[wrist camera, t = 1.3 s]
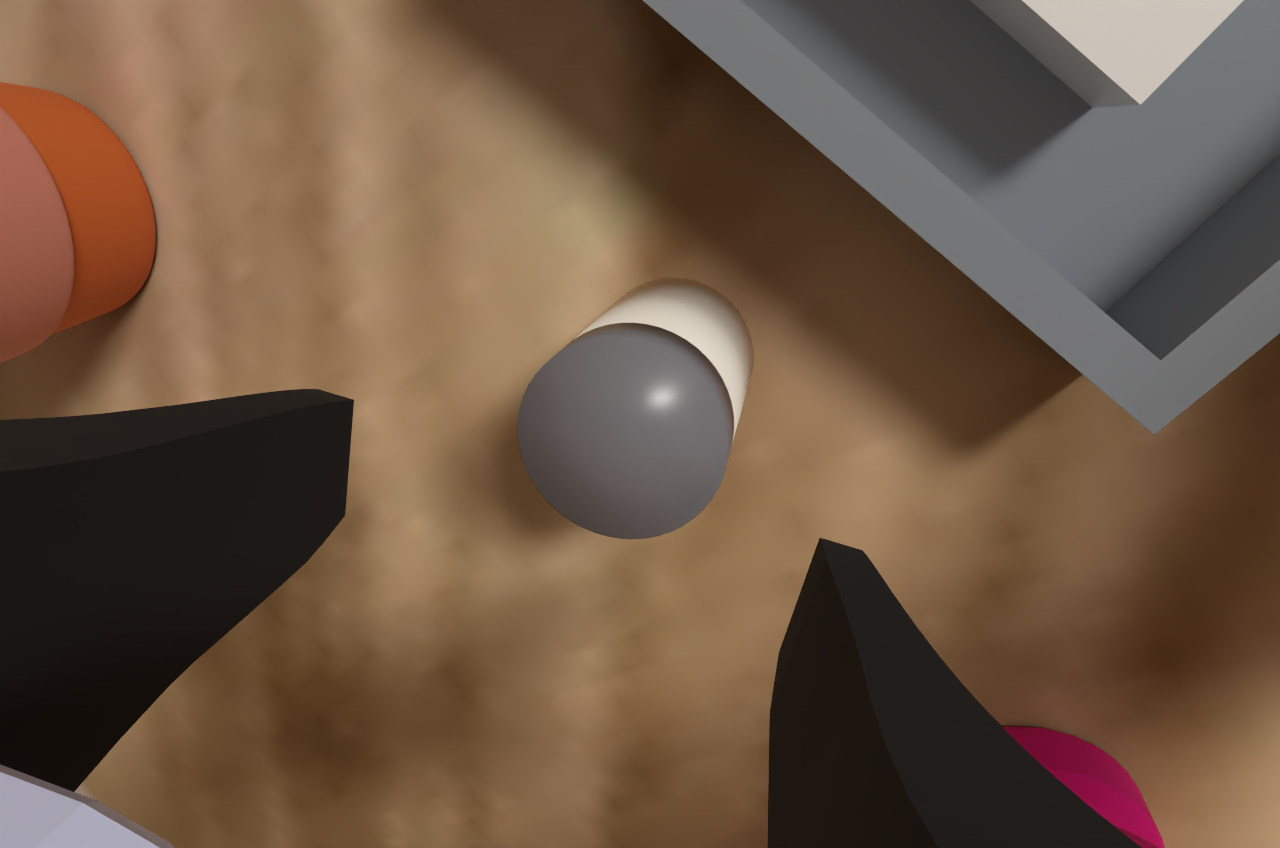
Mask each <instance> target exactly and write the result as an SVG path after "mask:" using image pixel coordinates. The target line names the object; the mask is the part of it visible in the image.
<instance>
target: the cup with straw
mask: <svg viewBox="0 0 1280 848" xmlns="http://www.w3.org/2000/svg"><path fill="white" fill-rule="evenodd" d="M155 247H156V225H155V217H154V211H153V207H152V202H151V199H150V195H149V192H148V189H147V187H146V184H145V181H144V179H143V177H142V175H141V173H140V170H139V168H138V167H137V165H136V163H135V161H134V159H133V158H132V156H131V155H130V153H129V152H128V150H127V149H126V147H125V146H124V144H123V143H122V142H121V141H120V139H119V138H118V137H117V136H116V135H115V133H114V132H113V131H112V130H111V129H110V128H109V127H108V126H107V125H106V124H105V123H104V122H103V121H102V120H101V119H100V118H98V117H97V116H96V115H95V114H94V113H92V112H91V111H89V110H88V109H87V108H85V107H84V106H82V105H80V104H79V103H77V102H75V101H73V100H71V99H69V98H67V97H65V96H63V95H60V94H57V93H54V92H51V91H47V90H43V89H38V88H33V87H27V86H21V85H15V84H8V83H2V82H0V363H2V362H5V361H7V360H10V359H12V358H15V357H17V356H19V355H22V354H24V353H26V352H28V351H31V350H33V349H35V348H36V347H37V346H39V345H40V344H42V343H43V342H44V341H46V340H47V338H48V337H49V336H50V335H52V334H55V333H57V332H60V331H63V330H65V329H68V328H70V327H73V326H75V325H78V324H81V323H83V322H86V321H88V320H91V319H93V318H96V317H98V316H101V315H103V314H106V313H108V312H110V311H112V310H114V309H117V308H119V307H121V306H122V305H124V304H125V303H127V302H128V301H129V300H130V299H131V298H132V297H134V296H135V295H136V293H137V292H138V291H139V290H140V289H141V287H142V286H143V284H144V283H145V281H146V279H147V277H148V275H149V272H150V270H151V267H152V263H153V259H154V254H155Z"/></svg>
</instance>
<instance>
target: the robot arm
mask: <svg viewBox="0 0 1280 848" xmlns="http://www.w3.org/2000/svg"><path fill="white" fill-rule="evenodd" d="M353 404H354V400H352V399H349V398H345V397H342V396H339V395H335V394H332V393H329V392H325V391H322V390H318V389H298V390H285V391H276V392H267V393H259V394H252V395H244V396H237V397H230V398H223V399H216V400H209V401H202V402H195V403H188V404H181V405H173V406H164V407H156V408H147V409H138V410H130V411H121V412H113V413H104V414H94V415H82V416H69V417H55V418H34V419H13V420H0V848H175V847H174V846H173V845H172V844H171V843H170V842H168V841H166V840H164V839H163V838H161V837H159V836H157V835H156V834H154V833H152V832H151V831H149V830H147V829H145V828H144V827H142V826H140V825H139V824H137V823H135V822H133V821H132V820H130V819H128V818H127V817H125V816H123V815H121V814H120V813H118V812H116V811H115V810H113V809H111V808H109V807H108V806H106V805H104V804H103V803H101V802H99V801H96V800H94V799H91V798H88V797H86V796H83V795H80V794H78V793H75V792H74V791H75V790H76V789H77V788H78V787H79V786H80V784H81V783H82V782H83V781H84V780H85V779H86V777H87V776H88V775H89V774H90V773H91V772H92V771H93V769H94V768H95V767H96V766H97V765H98V764H99V763H100V761H101V760H102V759H103V758H104V757H105V756H106V754H107V753H108V752H109V751H110V750H111V749H112V748H113V746H114V745H115V744H116V743H117V742H118V741H119V739H120V738H121V737H122V736H123V735H124V734H125V733H126V732H127V731H128V730H129V729H130V728H131V727H132V725H133V724H134V723H135V722H136V721H137V720H138V719H139V718H140V717H141V716H142V715H143V714H144V712H145V711H146V710H147V709H148V708H149V707H150V706H151V705H152V704H153V703H154V702H155V701H156V699H157V698H158V697H159V696H160V695H161V694H162V693H163V692H164V691H165V690H166V689H167V688H168V686H169V685H170V684H171V683H172V682H174V681H175V680H176V679H177V678H178V677H179V676H180V675H181V674H182V673H183V672H184V671H185V670H186V669H187V668H188V667H189V666H190V665H191V664H192V663H193V662H194V661H196V660H197V659H198V658H199V657H200V656H201V655H202V654H204V653H205V652H206V651H207V650H208V649H209V648H210V647H211V646H213V645H214V644H215V643H216V642H217V641H218V640H219V639H221V638H222V637H223V636H224V635H225V634H226V633H227V632H229V631H230V630H231V629H232V628H233V627H234V626H235V625H237V624H238V623H239V622H240V621H241V620H242V619H243V618H244V617H246V616H247V615H248V614H249V613H250V612H251V611H252V610H254V609H255V608H256V607H257V606H258V605H259V604H260V603H262V602H263V601H264V600H265V599H266V598H267V597H268V596H270V595H271V594H272V593H273V592H274V591H275V590H276V589H277V588H278V587H280V586H281V585H282V584H283V583H284V582H285V581H286V580H287V579H288V578H290V577H291V576H292V575H293V574H294V573H295V572H296V571H297V570H298V569H299V568H300V567H302V566H303V565H304V564H305V563H306V562H307V561H308V560H309V558H310V557H311V556H312V555H313V554H314V553H315V552H316V550H317V549H318V548H319V547H320V546H321V545H322V544H323V542H324V541H325V540H326V539H327V537H328V536H329V535H330V534H331V532H332V531H333V530H334V529H335V527H336V526H337V525H338V524H339V522H340V521H341V520H342V519H343V517H344V516H345V509H346V496H347V483H348V470H349V456H350V443H351V430H352V417H353ZM768 848H1142V847H1141V846H1139V845H1138V844H1137V843H1135V842H1134V841H1133V840H1131V839H1130V838H1129V837H1127V836H1126V835H1125V834H1124V833H1122V832H1121V831H1120V830H1119V829H1117V828H1116V827H1115V826H1114V825H1112V824H1111V823H1110V822H1109V821H1107V820H1106V819H1105V818H1103V817H1102V816H1101V815H1100V814H1098V813H1097V812H1096V811H1095V810H1093V809H1092V808H1091V807H1090V806H1089V805H1088V804H1086V803H1085V802H1084V801H1083V800H1082V799H1081V798H1079V797H1078V796H1077V795H1076V794H1075V793H1074V792H1072V791H1071V790H1070V789H1069V788H1068V787H1067V786H1065V785H1064V784H1063V783H1062V782H1061V781H1060V780H1059V779H1057V778H1056V777H1055V776H1054V775H1053V774H1052V773H1050V772H1049V771H1048V770H1047V769H1046V768H1045V767H1044V766H1042V765H1041V764H1040V763H1039V762H1038V761H1037V760H1036V759H1035V758H1034V757H1033V756H1032V755H1031V754H1030V753H1028V752H1027V751H1026V750H1025V749H1024V748H1023V747H1022V746H1021V745H1020V744H1019V743H1018V742H1017V741H1016V740H1015V739H1014V738H1013V737H1012V736H1011V735H1010V734H1009V733H1008V732H1007V731H1006V730H1005V729H1004V728H1003V727H1002V726H1001V725H1000V724H999V723H998V722H997V721H996V720H995V719H994V718H993V717H992V716H991V715H990V714H989V713H988V712H987V711H986V710H985V709H984V708H983V706H982V705H981V704H980V703H979V702H978V701H977V700H976V699H975V698H974V697H973V696H972V694H971V693H970V692H969V691H968V690H967V689H966V688H965V686H964V685H963V684H962V683H961V682H960V681H959V679H958V678H957V677H956V676H955V675H954V673H953V672H952V671H951V670H950V669H949V667H948V666H947V665H946V664H945V663H944V661H943V660H942V659H941V658H940V657H939V655H938V654H937V653H936V651H935V650H934V649H933V648H932V646H931V645H930V644H929V643H928V641H927V640H926V639H925V637H924V636H923V635H922V633H921V632H920V631H919V629H918V628H917V627H916V625H915V624H914V622H913V621H912V620H911V618H910V617H909V616H908V614H907V613H906V611H905V610H904V609H903V607H902V606H901V604H900V603H899V601H898V600H897V599H896V597H895V596H894V594H893V593H892V591H891V590H890V588H889V587H888V585H887V584H886V583H885V581H884V580H883V578H882V577H881V575H880V574H879V572H878V571H877V569H876V568H875V566H874V565H873V564H872V562H871V561H870V559H869V558H868V557H867V555H866V554H865V553H864V552H863V550H859V549H856V548H853V547H849V546H846V545H842V544H839V543H836V542H832V541H829V540H826V539H822V538H820V539H819V541H818V544H817V547H816V550H815V553H814V556H813V558H812V561H811V564H810V567H809V570H808V572H807V575H806V578H805V581H804V584H803V586H802V589H801V592H800V595H799V598H798V601H797V603H796V606H795V609H794V612H793V615H792V617H791V620H790V623H789V626H788V629H787V632H786V634H785V637H784V640H783V643H782V646H781V648H780V651H779V656H778V663H777V669H776V675H775V682H774V689H773V696H772V703H771V710H770V736H769V796H768Z"/></svg>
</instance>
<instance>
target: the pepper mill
mask: <svg viewBox="0 0 1280 848" xmlns="http://www.w3.org/2000/svg"><path fill="white" fill-rule="evenodd" d="M1003 728H1004V729H1005V730H1006V731H1007V732H1008V733H1009V734H1010V735H1011V736H1012V737H1013V738H1014V739H1015V740H1016V741H1017V742H1018V743H1019V744H1020V745H1021V746H1022V747H1023V748H1024V749H1025V750H1026V751H1027V752H1028V753H1030V754H1031V755H1032V756H1033V757H1034V758H1035V759H1036V760H1037V761H1038V762H1039V763H1040V764H1041V765H1042V766H1044V767H1045V768H1046V769H1047V770H1048V771H1049V772H1050V773H1052V774H1053V775H1054V776H1055V777H1056V778H1057V779H1059V780H1060V781H1061V782H1062V783H1063V784H1064V785H1065V786H1067V787H1068V788H1069V789H1070V790H1071V791H1072V792H1074V793H1075V794H1076V795H1077V796H1078V797H1079V798H1081V799H1082V800H1083V801H1084V802H1085V803H1086V804H1088V805H1089V806H1090V807H1091V808H1092V809H1093V810H1095V811H1096V812H1097V813H1098V814H1100V815H1101V816H1102V817H1103V818H1105V819H1106V820H1107V821H1109V822H1110V823H1111V824H1112V825H1114V826H1115V827H1116V828H1117V829H1119V830H1120V831H1121V832H1122V833H1124V834H1125V835H1126V836H1127V837H1129V838H1130V839H1131V840H1133V841H1134V842H1135V843H1137V844H1138V845H1139V846H1141V847H1142V848H1164V844H1163V840H1162V837H1161V835H1160V833H1159V831H1158V829H1157V827H1156V824H1155V822H1154V820H1153V818H1152V816H1151V814H1150V812H1149V810H1148V808H1147V805H1146V803H1145V801H1144V799H1143V797H1142V795H1141V793H1140V791H1139V789H1138V787H1137V786H1136V784H1135V782H1134V781H1133V779H1132V778H1131V777H1130V775H1129V774H1128V772H1127V771H1126V770H1125V769H1124V768H1123V767H1122V766H1121V765H1120V764H1119V763H1118V762H1117V761H1116V760H1115V759H1114V758H1112V757H1111V756H1110V755H1108V754H1107V753H1106V752H1104V751H1103V750H1101V749H1100V748H1098V747H1096V746H1095V745H1093V744H1090V743H1088V742H1086V741H1084V740H1082V739H1080V738H1078V737H1075V736H1073V735H1069V734H1065V733H1061V732H1057V731H1053V730H1050V729H1046V728H1039V727H1007V726H1005V727H1003Z"/></svg>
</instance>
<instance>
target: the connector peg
mask: <svg viewBox="0 0 1280 848" xmlns="http://www.w3.org/2000/svg"><path fill="white" fill-rule="evenodd" d="M753 362H754V356H753V345H752V339H751V336H750V333H749V330H748V328H747V325H746V323H745V321H744V319H743V318H742V316H741V314H740V313H739V311H738V310H737V309H736V308H735V307H734V305H733V304H732V303H731V302H730V301H729V300H728V299H727V298H726V297H724V296H723V295H722V294H720V293H719V292H718V291H716V290H714V289H712V288H711V287H709V286H707V285H704V284H702V283H699V282H697V281H692V280H688V279H681V278H664V279H658V280H653V281H650V282H647V283H644V284H642V285H640V286H638V287H636V288H634V289H633V290H631V291H629V292H628V293H627V294H626V295H624V296H623V297H622V298H621V299H620V300H619V301H617V302H616V303H615V304H614V305H613V306H612V307H610V308H609V309H608V310H607V311H606V312H605V313H604V314H602V315H601V316H600V317H599V318H598V319H597V320H595V321H594V322H593V323H592V324H591V325H590V326H589V327H587V328H586V329H585V330H584V331H583V332H582V333H580V334H579V335H578V336H577V337H576V338H575V339H574V340H572V341H571V342H570V343H569V344H568V345H567V346H565V347H564V348H563V349H562V350H561V351H560V352H558V353H557V354H556V355H555V356H554V357H553V358H552V359H550V360H549V361H548V362H547V363H546V364H545V365H543V367H542V368H541V369H540V370H539V371H538V372H537V374H536V375H535V376H534V378H533V379H532V381H531V382H530V384H529V385H528V387H527V390H526V392H525V394H524V396H523V399H522V403H521V406H520V409H519V416H518V442H519V449H520V453H521V457H522V460H523V463H524V465H525V468H526V471H527V473H528V475H529V477H530V478H531V480H532V482H533V484H534V485H535V487H536V488H537V490H538V491H539V492H540V494H541V495H542V496H543V497H544V498H545V500H546V501H547V502H548V503H549V504H550V505H551V506H552V507H553V508H554V509H556V510H557V511H558V512H559V513H560V514H561V515H563V516H564V517H566V518H567V519H569V520H570V521H571V522H573V523H575V524H577V525H579V526H581V527H582V528H585V529H587V530H590V531H592V532H594V533H598V534H601V535H605V536H609V537H615V538H621V539H642V538H650V537H655V536H660V535H663V534H666V533H669V532H671V531H674V530H676V529H678V528H680V527H682V526H683V525H685V524H686V523H688V522H689V521H691V520H692V519H694V518H695V517H696V516H697V515H698V514H699V513H700V512H701V511H703V510H704V508H705V507H706V506H707V505H708V503H709V502H710V501H711V500H712V498H713V496H714V495H715V493H716V491H717V490H718V488H719V485H720V483H721V481H722V478H723V475H724V471H725V468H726V464H727V461H728V457H729V453H730V450H731V446H732V443H733V439H734V436H735V432H736V428H737V425H738V421H739V418H740V414H741V410H742V407H743V403H744V400H745V396H746V393H747V389H748V385H749V382H750V378H751V374H752V370H753Z"/></svg>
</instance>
